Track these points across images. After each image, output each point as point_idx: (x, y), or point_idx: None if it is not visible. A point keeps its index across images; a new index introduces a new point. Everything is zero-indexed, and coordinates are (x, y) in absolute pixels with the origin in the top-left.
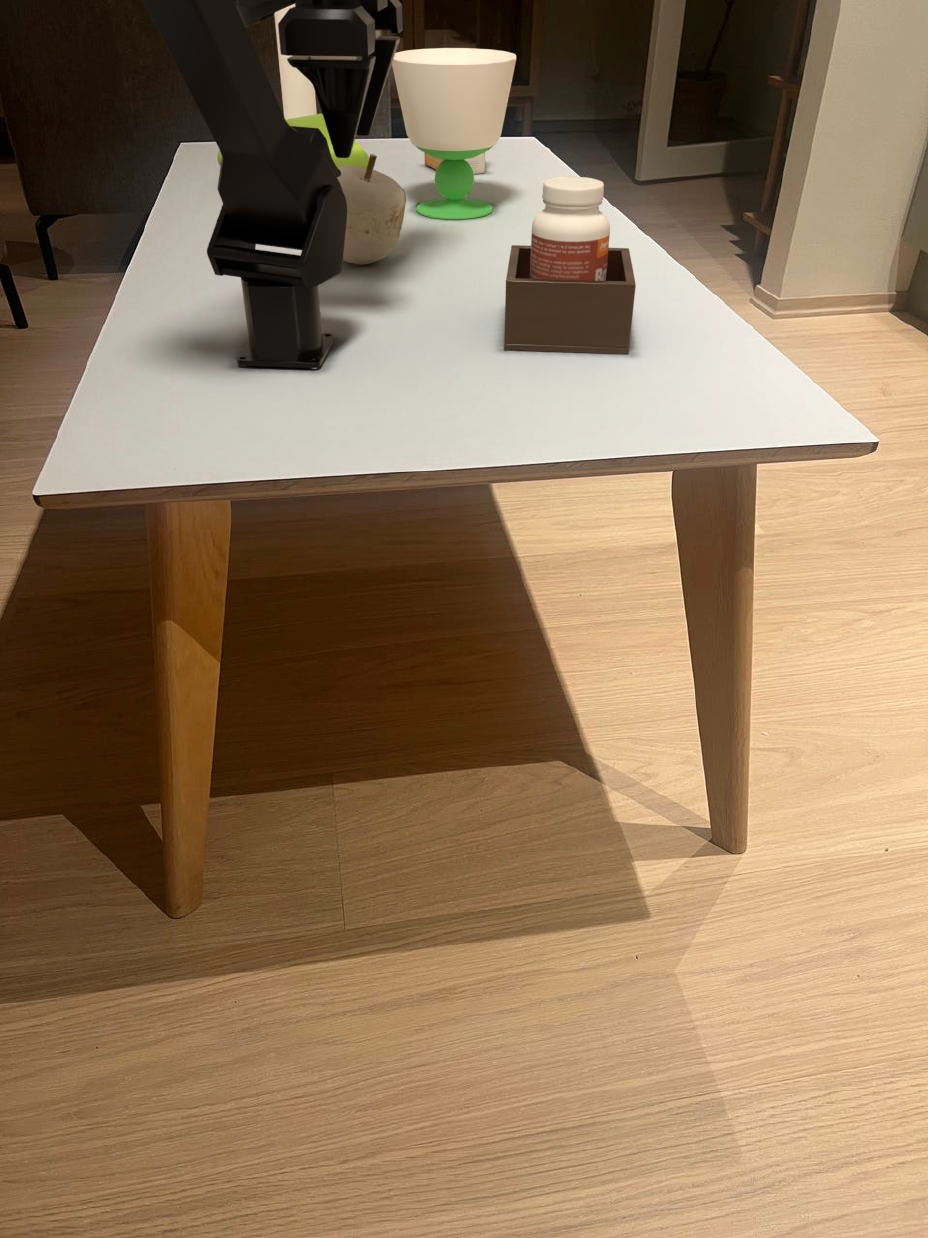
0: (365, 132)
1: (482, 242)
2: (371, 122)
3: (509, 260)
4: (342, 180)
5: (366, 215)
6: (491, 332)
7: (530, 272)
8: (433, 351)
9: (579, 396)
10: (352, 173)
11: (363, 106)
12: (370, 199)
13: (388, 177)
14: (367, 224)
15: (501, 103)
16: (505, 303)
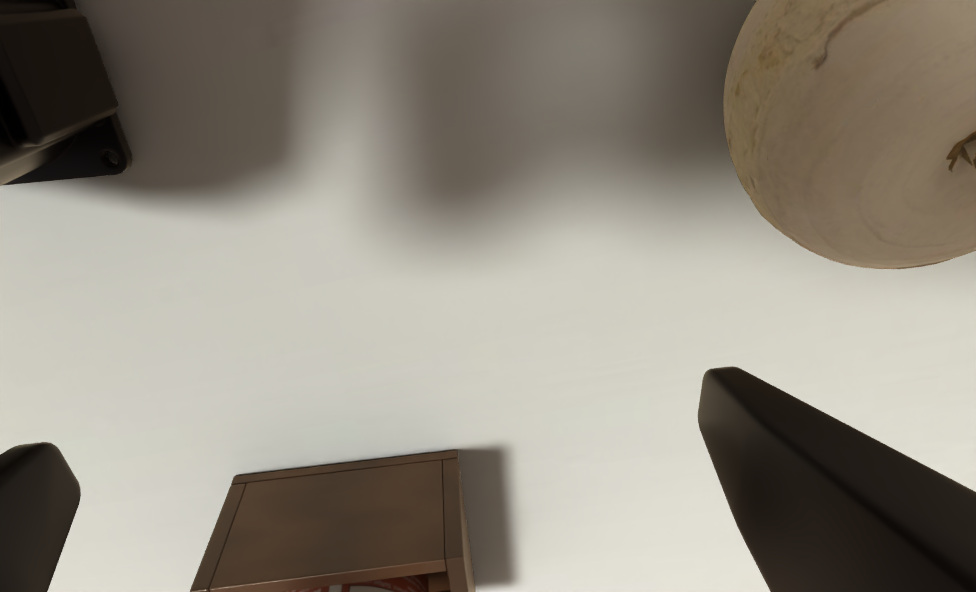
0: (705, 417)
1: (938, 325)
2: (724, 487)
3: (340, 572)
4: (913, 74)
5: (749, 162)
6: (320, 443)
7: (327, 589)
8: (175, 375)
9: (89, 583)
10: None
11: (784, 529)
12: (792, 191)
13: None
14: (738, 154)
15: None
16: (207, 548)
